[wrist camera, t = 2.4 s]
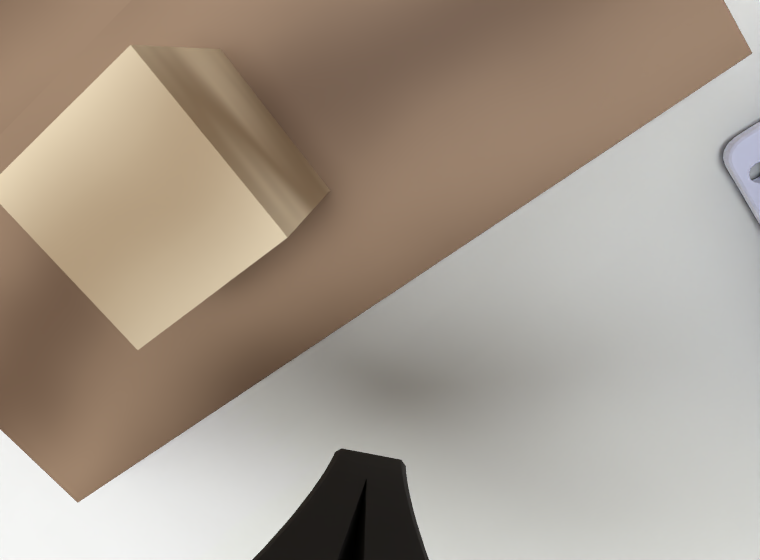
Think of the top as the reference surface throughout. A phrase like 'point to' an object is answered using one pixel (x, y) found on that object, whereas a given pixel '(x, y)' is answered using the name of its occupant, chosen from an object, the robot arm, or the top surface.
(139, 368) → the trap deck
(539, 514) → the top surface
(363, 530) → the robot arm
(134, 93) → the maple block
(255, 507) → the top surface
